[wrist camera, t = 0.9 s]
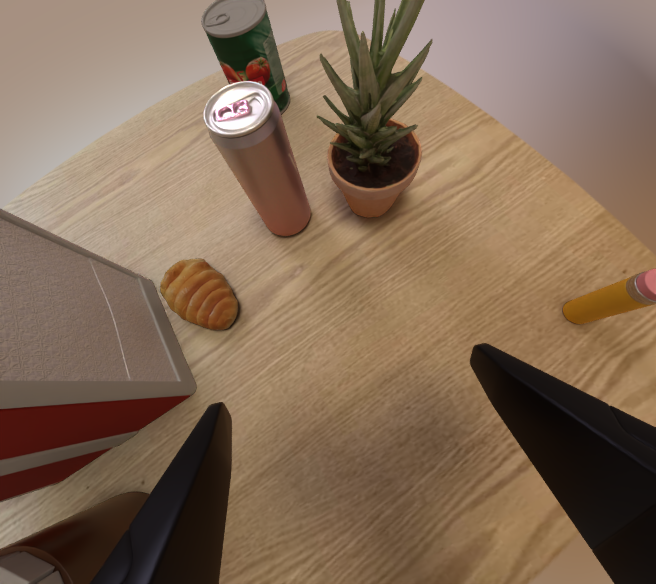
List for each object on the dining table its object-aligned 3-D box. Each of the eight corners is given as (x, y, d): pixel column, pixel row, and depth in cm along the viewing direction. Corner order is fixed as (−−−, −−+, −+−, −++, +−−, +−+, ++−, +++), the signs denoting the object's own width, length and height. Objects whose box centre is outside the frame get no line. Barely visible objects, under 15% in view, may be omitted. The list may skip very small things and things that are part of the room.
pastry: (255, 300, 32) (241, 290, 28) (216, 347, 31) (197, 342, 27) (203, 259, 35) (184, 245, 31) (166, 300, 33) (142, 291, 30)
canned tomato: (283, 78, 43) (258, -17, 33) (295, 111, 41) (272, 19, 30) (236, 95, 44) (197, 5, 33) (246, 128, 41) (205, 43, 31)
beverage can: (262, 206, 36) (196, 93, 22) (305, 192, 36) (266, 69, 22) (271, 244, 34) (205, 146, 20) (316, 230, 34) (282, 121, 20)
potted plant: (425, 207, 33) (572, -212, 10) (356, 243, 33) (336, -102, 9) (383, 153, 36) (416, -255, 13) (320, 185, 36) (239, -175, 13)
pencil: (594, 311, 27) (692, 281, 19) (581, 329, 27) (675, 306, 19) (570, 296, 28) (654, 261, 20) (557, 313, 27) (637, 284, 19)
